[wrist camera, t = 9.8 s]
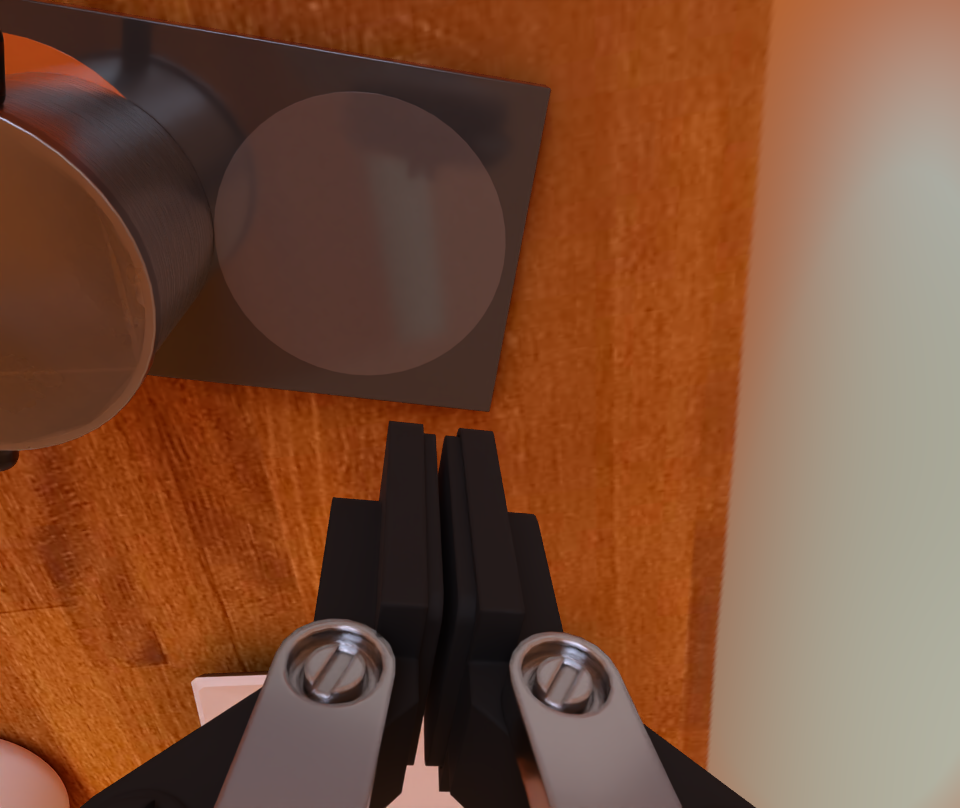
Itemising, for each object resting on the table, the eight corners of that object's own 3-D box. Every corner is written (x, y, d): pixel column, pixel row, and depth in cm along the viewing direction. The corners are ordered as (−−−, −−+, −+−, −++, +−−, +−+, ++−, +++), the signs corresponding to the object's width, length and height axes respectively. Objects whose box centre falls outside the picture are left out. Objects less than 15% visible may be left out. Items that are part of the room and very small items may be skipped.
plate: (249, 871, 45) (241, 908, 43) (200, 647, 36) (188, 682, 34) (557, 854, 46) (562, 889, 44) (584, 634, 37) (592, 667, 35)
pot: (-102, -39, 21) (-316, -52, 15) (238, 52, 23) (170, 73, 17) (-66, 360, 27) (-209, 469, 21) (204, 409, 29) (144, 523, 22)
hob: (-186, -40, 22) (-212, -42, 21) (546, 85, 25) (551, 88, 24) (-102, 335, 27) (-120, 347, 26) (487, 400, 30) (489, 412, 29)
